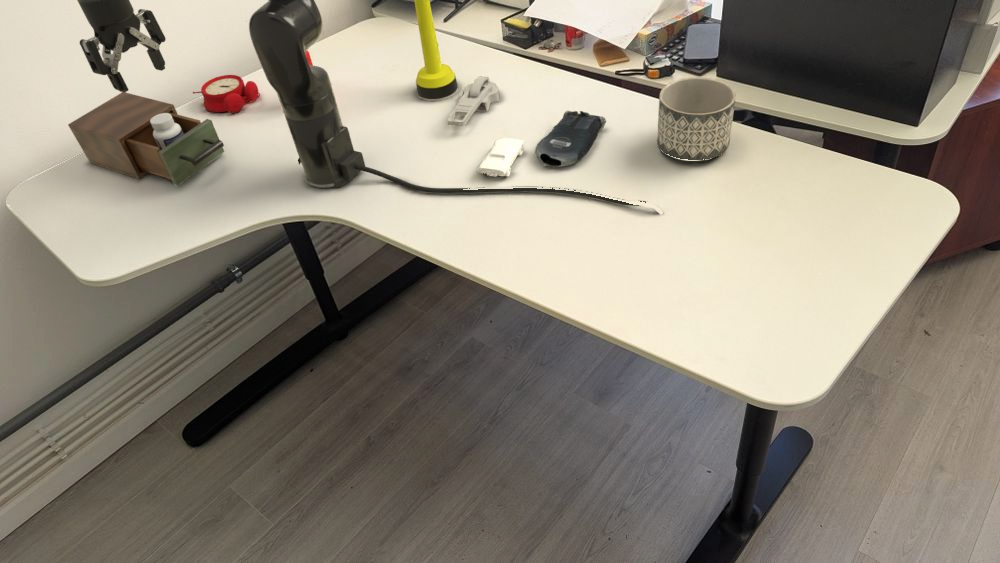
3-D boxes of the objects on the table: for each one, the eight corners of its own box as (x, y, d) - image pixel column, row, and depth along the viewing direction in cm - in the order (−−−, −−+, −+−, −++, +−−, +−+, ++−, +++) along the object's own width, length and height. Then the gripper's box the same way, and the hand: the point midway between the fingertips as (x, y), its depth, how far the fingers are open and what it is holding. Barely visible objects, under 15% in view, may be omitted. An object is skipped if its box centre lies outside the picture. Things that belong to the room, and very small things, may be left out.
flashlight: (425, -17, 135) (448, -35, 141) (385, -20, 138) (408, -38, 144) (445, 103, 152) (465, 83, 158) (409, 98, 155) (429, 78, 161)
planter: (722, 171, 125) (729, 118, 118) (649, 161, 129) (651, 110, 122) (733, 132, 133) (740, 80, 126) (665, 124, 138) (668, 74, 130)
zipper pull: (438, 133, 144) (435, 114, 141) (470, 88, 156) (467, 70, 153) (475, 137, 141) (472, 118, 138) (505, 91, 153) (503, 72, 150)
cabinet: (191, 143, 151) (173, 104, 145) (139, 179, 143) (118, 139, 137) (142, 129, 157) (122, 91, 151) (90, 163, 149) (67, 124, 143)
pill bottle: (197, 150, 145) (180, 111, 138) (185, 165, 141) (166, 125, 135) (174, 149, 146) (155, 110, 140) (161, 164, 142) (141, 125, 136)
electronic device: (559, 129, 143) (526, 161, 132) (563, 103, 139) (530, 134, 129) (603, 143, 140) (573, 177, 129) (608, 117, 136) (578, 149, 126)
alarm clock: (218, 71, 166) (260, 66, 158) (232, 96, 170) (274, 93, 161) (185, 93, 160) (227, 89, 152) (200, 118, 163) (241, 116, 155)
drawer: (241, 156, 143) (228, 124, 138) (195, 191, 136) (179, 158, 131) (175, 137, 151) (161, 106, 146) (128, 170, 144) (111, 138, 139)
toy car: (527, 147, 137) (525, 131, 135) (505, 183, 129) (503, 168, 127) (500, 143, 139) (498, 128, 136) (477, 179, 131) (474, 164, 128)
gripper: (77, 11, 115) (124, 102, 126) (147, -24, 124) (186, 64, 135) (49, 6, 118) (97, 95, 129) (119, -27, 127) (159, 59, 138)
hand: (142, 79), depth 132 cm, fingers open, 8 cm apart
